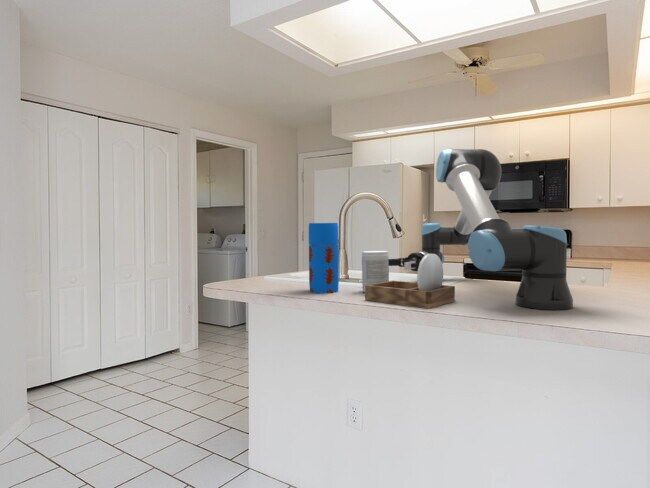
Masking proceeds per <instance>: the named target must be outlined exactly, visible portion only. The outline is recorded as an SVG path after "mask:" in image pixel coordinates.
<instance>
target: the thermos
mask: <svg viewBox="0 0 650 488" xmlns="http://www.w3.org/2000/svg"><path fill="white" fill-rule="evenodd" d="M339 257H340V256H339V223H338V222H315V223H314V222H309V224H308V277H309V278H308V282H309V283H308V284H309V285H308V286H309V292H310V293H313V294H333V293H337V292H339V281H340V279H339V278H340V276H339V275H340V273H339V269H340V268H339V264H340V263H339Z"/></svg>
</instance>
